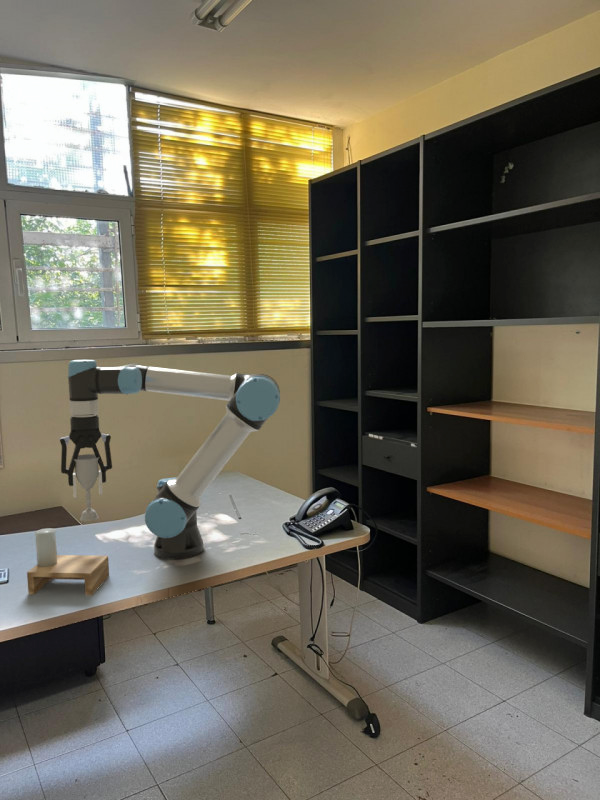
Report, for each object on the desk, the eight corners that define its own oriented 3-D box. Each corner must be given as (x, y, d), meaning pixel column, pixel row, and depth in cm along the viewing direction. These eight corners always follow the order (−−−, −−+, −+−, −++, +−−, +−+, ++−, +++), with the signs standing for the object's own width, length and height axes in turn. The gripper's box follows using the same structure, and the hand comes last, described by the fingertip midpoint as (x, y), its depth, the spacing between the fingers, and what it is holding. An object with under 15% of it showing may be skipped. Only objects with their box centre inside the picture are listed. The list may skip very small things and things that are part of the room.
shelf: (109, 576, 166) (108, 555, 165) (91, 595, 154) (90, 573, 153) (50, 575, 167) (49, 554, 166) (28, 594, 155) (26, 572, 154)
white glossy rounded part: (60, 559, 162) (58, 528, 161) (51, 567, 157) (49, 534, 156) (43, 559, 163) (41, 528, 162) (33, 566, 158) (31, 534, 157)
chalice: (72, 522, 165) (69, 460, 163) (79, 514, 172) (76, 454, 170) (99, 521, 166) (96, 459, 164) (105, 514, 173) (102, 454, 170)
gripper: (118, 411, 173) (121, 488, 175) (47, 415, 165) (51, 495, 168) (121, 414, 166) (124, 494, 169) (47, 418, 158) (51, 502, 161)
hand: (88, 495), depth 168 cm, fingers closed on chalice, 6 cm apart
